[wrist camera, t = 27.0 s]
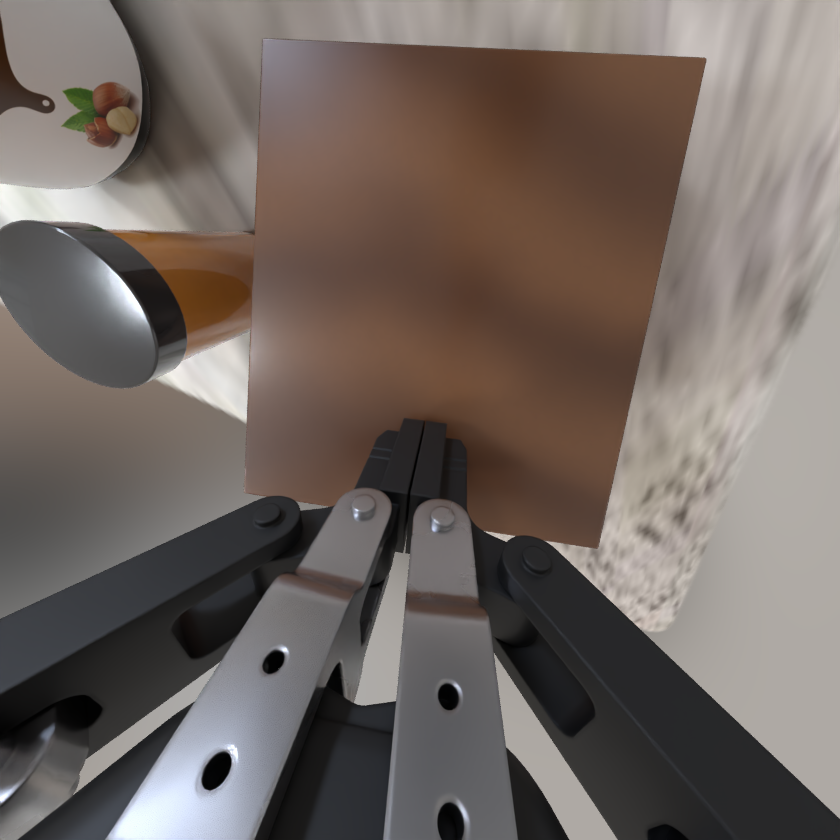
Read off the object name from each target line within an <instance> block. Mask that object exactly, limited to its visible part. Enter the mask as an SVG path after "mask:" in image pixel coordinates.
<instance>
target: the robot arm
mask: <svg viewBox="0 0 840 840" xmlns="http://www.w3.org/2000/svg"><path fill="white" fill-rule="evenodd" d="M424 427H425V429H424ZM446 430H447V423H440V422H433V421H426V425H425V420H417V419H410V418H404V419H403V422H402V425H401V427H400V430H399V431H392V430H386V431H385V432H384V433H382V434H381V435H380V436H378V437H377V439H376V441H375V444H374V446H373V449H372V450H371V453H370V455H369V458H368V459H367V461H366V464H365V466H364V468H363V470H362V473H361V475H360V477H359V479H358V481H357V484H356V486H355V488H354V490H351V491H349V492H347V493H345V494H344V495H343V496H342V497H341V498H340V499H339V500H338V501H337V503H336V504H335V505H334V506H331V507H328V508H322V509H312V510H303V511H300V508H299V505H298V504H297V502H296V501H295V500H293V499H291V498H289V497H286V496H269V497H265V498H262V499H259V500H257V501H254V502H252V503H250V504H248V505H246V506H244V507H242V508H239V509H237V510H235V511H233V512H231V513H228V514H226V515H225V516H222V517H220V518H218V519H216V520H214V521H211V522H209V523H207V524H205V525H203V526H201V527H198V528H196V529H194V530H192V531H190V532H187V533H185V534H183V535H181V536H179V537H177V538H174V539H172V540H170V541H168V542H166V543H164V544H161V545H159V546H157V547H155V548H153V549H151V550H148V551H146V552H144V553H142V554H140V555H138V556H136V557H133V558H131V559H129V560H127V561H125V562H122V563H120V564H118V565H116V566H114V567H112V568H109V569H107V570H105V571H103V572H101V573H99V574H96V575H94V576H92V577H90V578H88V579H86V580H84V581H82V582H79V583H77V584H75V585H73V586H70V587H68V588H66V589H64V590H62V591H60V592H57V593H55V594H53V595H51V596H49V597H47V598H45V599H42V600H40V601H38V602H36V603H34V604H32V605H29V606H27V607H25V608H23V609H21V610H19V611H16V612H14V613H12V614H10V615H8V616H6V617H3V618H1V619H0V840H569V839H568V837H567V835H566V833H565V831H564V829H563V828H562V826H561V824H560V823H559V820H558V819H557V817H556V815H555V813H554V812H553V810H552V808H551V806H550V804H549V803H548V801H547V799H546V798H545V796H544V794H543V793H542V791H541V790H540V788H539V787H538V785H537V784H536V782H535V781H534V779H533V778H532V776H531V775H530V773H529V772H528V771H527V770H526V768H525V767H524V766H523V765H522V764H521V762H520V761H519V760H518V759H517V758H516V756H515V755H514V754H513V753H511V752H510V751H509V749H507V748H506V745H505V737H504V729H503V721H502V714H501V706H500V698H499V691H498V682H497V675H496V667H495V659H494V653H495V655H496V656H497V658H498V659H499V661H500V662H501V664H502V665H503V667H504V668H505V670H506V671H507V673H508V674H509V676H510V678H511V679H512V681H513V682H514V684H515V685H516V687H517V688H518V689H519V691H520V693H521V694H522V696H523V697H524V699H525V700H526V702H527V703H528V705H529V706H530V708H531V709H532V710H533V712H534V714H535V715H536V717H537V718H538V720H539V721H540V723H541V724H542V726H543V727H544V729H545V730H546V732H547V733H548V735H549V736H550V738H551V739H552V741H553V742H554V744H555V745H556V747H557V748H558V750H559V751H560V753H561V754H562V756H563V757H564V759H565V761H566V762H567V764H568V765H569V766H570V768H571V770H572V771H573V773H574V774H575V776H576V777H577V779H578V780H579V782H580V783H581V785H582V786H583V788H584V789H585V791H586V792H587V794H588V795H589V797H590V798H591V800H592V801H593V803H594V804H595V806H596V807H597V809H598V810H599V812H600V813H601V815H602V816H603V818H604V819H605V821H606V822H607V824H608V826H609V827H610V828H611V830H612V832H613V833H614V834H615V836H616V838H617V839H618V840H840V819H839V818H838V817H837V816H836V815H835V814H834V813H833V812H832V811H830V809H829V808H827V807H826V806H825V805H824V804H823V803H822V802H821V801H820V800H819V799H818V798H817V797H816V796H815V795H814V794H813V793H811V791H810V790H809V789H807V788H806V787H805V786H804V785H803V784H802V783H801V782H800V781H799V780H798V779H797V778H796V777H795V776H794V775H793V774H792V773H791V772H790V771H788V769H786V768H785V767H784V766H783V765H782V764H781V763H780V762H779V761H778V760H777V759H776V758H775V757H774V756H773V755H772V754H771V753H770V752H769V751H767V750H766V749H765V748H764V747H763V746H762V745H761V744H760V743H759V742H758V741H757V740H756V739H755V738H754V737H753V736H752V735H751V734H750V733H749V732H747V731H746V730H745V729H744V728H743V727H742V726H741V725H740V724H739V723H738V722H737V721H736V720H735V719H734V718H733V717H732V716H731V715H730V714H729V713H728V712H726V711H725V710H724V709H723V708H722V707H721V706H720V705H719V704H718V703H717V702H716V701H715V700H714V699H713V698H712V697H711V696H710V695H709V694H707V692H705V691H704V690H703V689H702V688H701V687H700V686H699V685H698V684H697V683H696V682H695V681H694V680H693V679H692V678H691V677H689V675H688V674H687V673H685V672H684V671H683V670H682V669H681V668H680V667H679V666H678V665H677V664H676V663H675V662H674V661H673V660H672V659H671V658H670V657H669V656H668V655H667V654H665V653H664V652H663V651H662V650H661V649H660V648H659V647H658V646H657V645H656V644H655V643H654V642H653V641H652V640H651V639H650V638H649V637H648V636H647V635H645V634H644V633H643V632H642V631H641V630H640V629H639V628H638V627H637V626H636V625H635V624H634V623H633V622H632V621H631V620H630V619H629V618H628V617H627V616H626V615H624V614H623V613H622V612H621V611H620V610H619V609H618V608H617V607H616V606H615V605H614V604H613V603H612V602H611V601H610V600H609V599H608V598H607V597H606V596H604V595H603V594H602V593H601V592H600V591H599V590H598V589H597V588H596V587H595V586H594V585H593V584H592V583H591V582H590V581H589V580H588V579H587V578H586V577H584V576H583V575H582V574H581V573H580V572H579V571H578V570H577V569H576V568H575V567H574V566H573V565H572V564H571V563H570V562H569V561H568V560H567V559H566V558H564V557H563V556H562V555H561V554H560V553H559V552H558V551H557V550H556V549H555V548H554V547H553V546H551V545H550V544H548V543H547V542H545V541H543V540H541V539H539V538H536V537H533V536H527V535H520V536H515V537H513V538H511V539H510V540H508V541H507V542H505V541H503V540H500V539H498V538H496V537H494V536H492V535H490V534H488V533H486V532H484V531H483V530H481V529H480V528H479V527H478V526H476V524H475V523H474V522H473V521H472V519H471V518H470V516H469V514H468V511H467V449H466V448H465V446H464V444H463V443H462V441H461V440H459V439H451V438H446ZM406 536H407V540H406ZM405 541H406V552H405V553H408V554H410V559H409V570H408V581H407V592H406V602H405V613H404V623H403V634H402V645H401V655H400V667H399V677H398V687H397V699H396V701H395V702H387V703H381V704H373V705H367V706H361V705H357V704H355V703H354V700H355V697H356V694H357V690H358V686H359V682H360V678H361V673H362V668H363V662H364V657H365V653H366V650H367V646H368V643H369V639H370V636H371V633H372V630H373V627H374V623H375V620H376V617H377V614H378V611H379V607H380V604H381V601H382V598H383V595H384V592H385V588H386V585H387V582H388V578H389V572H390V570H391V566H392V562H393V558H394V553H395V552H401V553H403V550H404V546H405ZM220 661H221V662H220ZM219 662H220V664H219V665H218V667H217V668H216V670H215V671H214V673H213V674H212V676H211V678H210V679H209V681H208V682H207V684H206V685H205V687H204V688H203V690H202V691H201V693H200V694H199V696H198V698H197V699H196V701H195V702H193V703H192V704H190V705H189V706H187V707H186V708H184V709H183V710H181V711H179V712H178V713H176V714H175V715H174V716H172V717H171V718H170V719H168V720H167V721H166V722H165V723H163V724H162V725H161V726H160V727H158V728H157V729H156V730H155V731H153V732H152V733H151V734H150V735H148V736H147V737H146V738H145V739H143V740H142V741H141V742H139V743H138V744H137V745H136V746H134V747H133V748H132V749H131V750H129V751H128V752H127V753H126V754H125V755H123V756H122V757H121V758H120V759H118V760H117V761H116V762H114V763H113V764H112V765H111V766H109V767H108V768H107V769H106V770H105V771H103V772H102V773H101V774H99V775H98V776H97V777H96V778H94V779H93V780H92V781H91V782H89V783H88V784H87V785H86V786H84V787H83V788H82V789H81V790H79V791H78V792H77V793H75V794H74V792H75V790H76V788H77V786H78V783H79V779H80V775H79V774H80V771H81V769H82V767H83V765H84V762H85V760H86V759H87V758H88V757H90V756H91V755H92V754H94V753H95V752H97V751H98V750H99V749H101V748H102V747H103V746H105V745H106V744H108V743H109V742H110V741H111V740H113V739H114V738H116V737H117V736H119V735H120V734H121V733H123V732H124V731H125V730H127V729H128V728H130V727H131V726H132V725H134V724H135V723H136V722H137V721H139V720H141V719H142V718H143V717H145V716H146V715H147V714H149V713H150V712H152V711H153V710H154V709H156V708H157V707H158V706H160V705H161V704H163V703H164V702H165V701H167V700H168V699H169V698H170V697H172V696H174V695H175V694H176V693H178V692H179V691H181V690H182V689H183V688H185V687H186V686H187V685H189V684H190V683H191V682H192V681H194V680H196V679H197V678H198V677H200V676H201V675H202V674H204V673H205V672H207V671H208V670H209V669H211V668H212V667H214V666H215V665H216V664H218V663H219ZM73 794H74V795H73Z"/></svg>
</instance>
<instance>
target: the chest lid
mask: <svg viewBox="0 0 840 840" xmlns="http://www.w3.org/2000/svg"><path fill="white" fill-rule="evenodd" d="M705 64H706V58H700V57H677V56H654V55H631V54H609V53H586V52H563V51H541V50H518V49H495V48H472V47H450V46H427V45H404V44H381V43H359V42H336V41H313V40H291V39H268V38H264V39H263V40H262V63H261V87H260V112H259V136H258V160H257V185H256V209H255V234H254V258H253V283H252V307H251V332H250V356H249V381H248V405H247V431H246V455H245V479H244V480H245V481H244V493H248V494H254V495H260V496H266V497H269V496H286V497H289V498H291V499H293V500H295V501H298V502H304V503H310V504H317V505H324V506H329V507H331V506H334V505H335V504H336V503H337V501H338V500H339V499H340V498H341V497H342V496H343V495H344V494H345V493H347V492H349V491H351V490H354V488H355V486H356V484H357V481H358V479H359V477H360V475H361V473H362V470H363V468H364V466H365V464H366V461H367V459H368V458H369V455H370V453H371V450H372V449H373V446H374V444H375V441H376V439H377V437H378V436H380V435H381V434H382V433H384V432H385V431H386V430H392V431H399V430H400V427H401V425H402V422H403V419H404V418H410V419H417V420H425V425H426V421H433V422H440V423H447V430H446V438H451V439H459V440H461V441H462V443H463V444H464V446H465V448H466V449H467V511H468V514H469V516H470V518H471V519H472V521H473V522H474V523H475V524H476V526H478V527H479V528H480V529H481V530H483V531H488V532H494V533H500V534H507V535H513V536H520V535H527V536H533V537H536V538H539V539H541V540H545V541H551V542H557V543H564V544H570V545H576V546H583V547H589V548H595V549H598V547H599V542H600V538H601V533H602V529H603V524H604V520H605V515H606V511H607V506H608V502H609V497H610V493H611V488H612V484H613V479H614V475H615V470H616V466H617V461H618V457H619V452H620V447H621V443H622V438H623V434H624V429H625V425H626V420H627V416H628V411H629V407H630V402H631V398H632V393H633V389H634V384H635V380H636V375H637V371H638V366H639V362H640V357H641V353H642V348H643V344H644V339H645V335H646V330H647V326H648V321H649V317H650V312H651V308H652V303H653V299H654V294H655V290H656V285H657V281H658V276H659V272H660V267H661V263H662V258H663V254H664V249H665V245H666V240H667V235H668V231H669V226H670V222H671V217H672V213H673V208H674V204H675V199H676V195H677V190H678V186H679V181H680V177H681V172H682V168H683V163H684V159H685V154H686V150H687V145H688V141H689V136H690V132H691V127H692V123H693V118H694V114H695V109H696V105H697V100H698V96H699V91H700V87H701V82H702V78H703V73H704V69H705ZM424 429H425V427H424Z"/></svg>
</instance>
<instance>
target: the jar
mask: <svg viewBox="0 0 840 840" xmlns="http://www.w3.org/2000/svg"><path fill="white" fill-rule="evenodd" d="M253 258H254V234H253V233H249V232H219V231H167V230H116V229H102V228H99V227H97V226H93V225H90V224H86V223H80V222H62V221H34V220H21V221H16V222H12V223H10V224H7V225H5V226H3V227H2V228H1V229H0V297H1V298H2V300H3V302H4V304H5V306H6V307H7V309H8V310H9V312H10V313H11V315H12V316H13V318H14V319H15V321H16V322H17V323H18V325H19V326H20V327H21V328H22V329H23V331H24V332H25V333H26V334H27V335H28V336H29V338H30V339H31V340H33V342H34V343H35V344H36V345H37V346H38V347H40V348H41V349H42V350H43V351H44V352H45V353H46V354H47V355H49V356H50V357H51V358H52V359H54V360H55V361H56V362H57V363H59V364H60V365H62V366H63V367H65V368H66V369H68V370H69V371H71V372H73V373H74V374H76V375H78V376H80V377H82V378H84V379H86V380H89V381H91V382H93V383H96V384H99V385H102V386H106V387H111V388H133V387H137V386H140V385H142V384H144V383H146V382H148V381H151V380H153V379H155V378H157V377H159V376H162V375H164V374H166V373H168V372H170V371H172V370H173V369H175V368H176V367H177V366H178V365H179V364H180V362H181V361H183V360H185V359H188V358H190V357H192V356H195V355H197V354H199V353H201V352H204V351H206V350H208V349H211V348H213V347H215V346H217V345H220V344H222V343H224V342H227V341H229V340H231V339H233V338H236V337H238V336H240V335H242V334H245V333H247V332H249V331H251V307H252V283H253Z"/></svg>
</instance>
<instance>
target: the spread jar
mask: <svg viewBox="0 0 840 840" xmlns="http://www.w3.org/2000/svg"><path fill="white" fill-rule="evenodd" d="M149 127H150V96H149V88H148V83H147V78H146V74H145V71H144V68H143V65H142V62H141V59H140V56H139V54H138V51H137V49H136V47H135V44H134V42H133V40H132V38H131V36H130V34H129V32H128V30H127V28H126V26H125V25H124V23H123V21H122V19H121V18H120V16H119V14H118V13H117V11H116V9H115V8H114V6H113V5H112V3H111V2H110V0H0V184H9V185H18V186H26V187H35V188H46V189H73V188H82V187H88V186H91V185H94V184H97V183H100V182H103V181H105V180H107V179H109V178H111V177H113V176H115V175H116V174H118V173H119V172H121V171H123V170H124V169H126V168H127V167H128V166H130V165H131V164H132V163H133V162H134V161H135V160H136V158H137V157H138V156H139V155H140V153H141V151H142V150H143V148H144V146H145V143H146V140H147V137H148V133H149Z"/></svg>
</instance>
